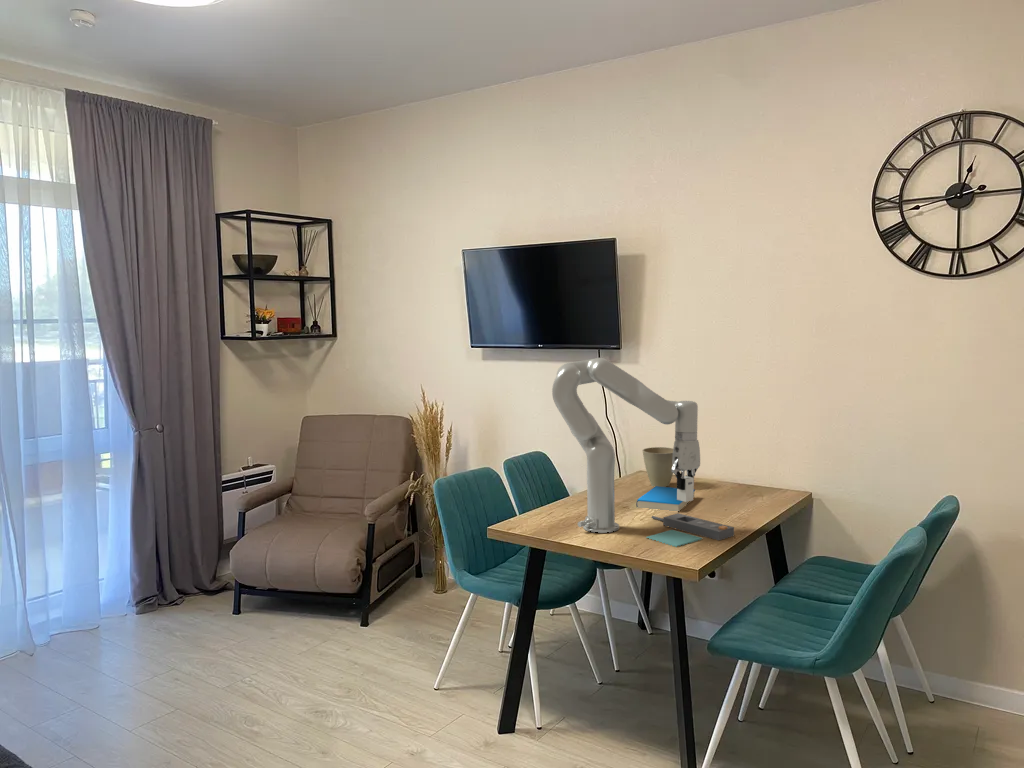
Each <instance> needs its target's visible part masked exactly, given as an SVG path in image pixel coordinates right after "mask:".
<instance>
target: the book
mask: <svg viewBox="0 0 1024 768" xmlns="http://www.w3.org/2000/svg"><path fill="white" fill-rule="evenodd" d="M695 491H696V489H694V492H695ZM693 498H694V499H695V493H694V494H693ZM688 502H689V501H688ZM688 502H684V501H680V500H677V487H671V486H668V487H659V486H655V487H652V488H650V490H648V491H647V492H646V493H644V494H643V495H641V496H639V498H638V499H637V500H636V504H635V505H636V508H637V507H638V508H637V509H640V508H649V509H648V510H650V509H660V510H669V511H679V512H681V511H682V510H683V509H684V508H685V507H686V506H687V505H688V504H689V503H690V502H689V503H688ZM687 503H688V504H687ZM686 504H687V505H686ZM685 505H686V506H685ZM684 506H685V507H684ZM683 507H684V508H683ZM682 508H683V509H682ZM681 509H682V510H681ZM660 510H659V511H660ZM680 510H681V511H680ZM669 511H668V512H669Z"/></svg>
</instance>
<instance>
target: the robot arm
mask: <svg viewBox="0 0 1024 768" xmlns="http://www.w3.org/2000/svg"><path fill="white" fill-rule="evenodd" d="M591 383H592V384H593V383H598V384H599V385H600V386H602V387H603V388H604V389H607V390H608V391H610V392H611V393H613V394H614V395H616V396H617V397H619V398H620V399H621V400H623V401H625V402H626V403H628V404H630V405H632V406H634V407H636V408H638V410H640V411H642V412H644V413H645V414H647V415H649V416H650V417H651V418H653V419H655V420H656V421H658V422H659V423H660V424H663V425H667V426H668V425H672V424H674V423H675V424H674V429H675V430H674V442H673V447H672V448H673V458H672V464H673V467H672V469H671V471H672V472H673V474H674V476H675V478H676V488H677V489H681V490H685V479H684V476H688V477H693V478H694V479H695V476H696V472H697V471H698V469H699V468H700V466H701V450H700V442H699V439H698V413H699V412H698V411H699V409H698V408H699V407H698V403H697V402H696V401H693V400H681V401H676V400H675V401H674V400H667V399H665V397H662V396H661V395H659V394H658V393H656V392H654V391H653V390H652V389H650V388H649V387H647V386H646V384H644V383H643V382H642V381H640V380H639V379H637V378H636V377H634V376H633V375H631V374H630V373H628V372H627V371H625V370H624V369H622V368H621V367H620V366H617V365H616V364H614V363H612V362H611V360H608V359H606V358H604V357H596V358H591V359H590V358H589V359H584V360H579V361H573V362H566V363H564V364H562V365H561V366H560V367H559V368H558V369H557V371H556V376H555V378H554V381H553V383H552V389H551V390H552V391H551V392H552V399H553V402H554V404H555V407H556V408H557V411H558V412H559V413H560V415H561V417H562V418H563V419H564V421H565V423H566V425H567V426H568V428H569V430H570V432H571V434H572V436H574V438H575V439H576V440H577V442H578V443H579V446H580V447H581V448H582V450H583V451H584V453H585V454H586V485H587V486H586V487H587V488H586V493H587V495H586V496H587V498H586V499H587V505H586V506H587V515H586V516H585V519H584V520H581V521H578V522H577V527H579V528H582V529H583V530H585V531H587V532H590V531H591V532H590V533H595V532H598V533H597V534H604V533H605V534H607V532H609V533H614V532H617V531H618V530H620V525H619V523H617V522H615V521H616V519H615V517H616V514H615V466H616V455H615V454H616V453H615V449H614V447H613V445H612V444H611V441H609V439H608V437H607V436H606V434H605V433H604V431H603V429H602V428H601V426H600V425H599V423H598V422H597V420H596V419H595V417H594V416H593V415H592V414H591V413H590V412H589V411H588V409H587V408H586V405H584V402H583V401H582V399H581V398H580V397H579V395H578V387H579V385H587V384H591ZM685 472H686V475H685ZM613 531H614V532H613Z"/></svg>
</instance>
